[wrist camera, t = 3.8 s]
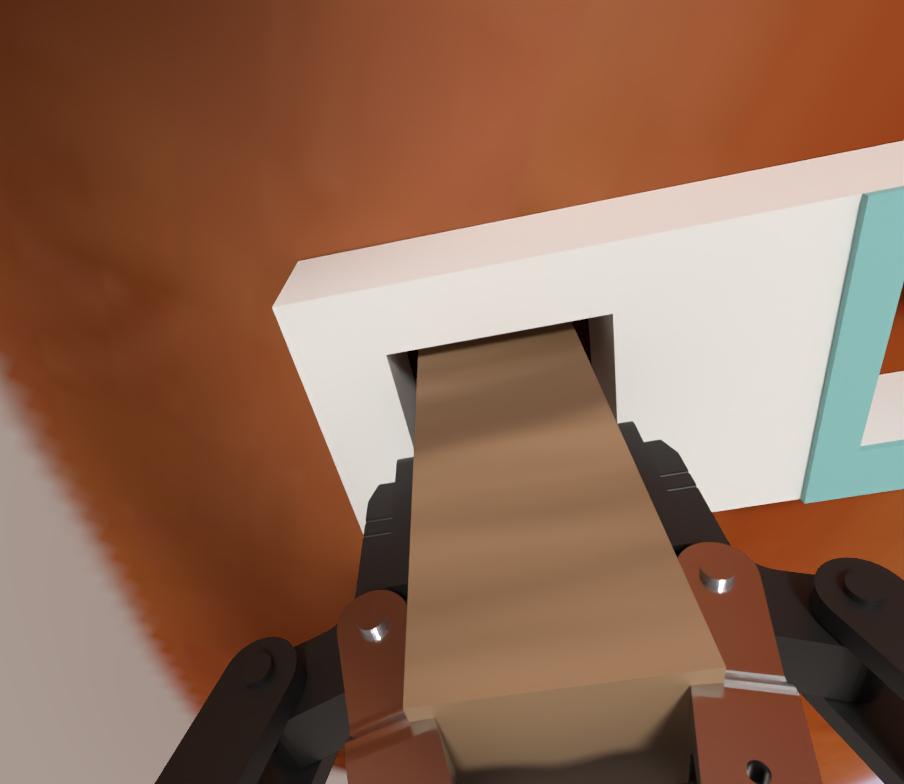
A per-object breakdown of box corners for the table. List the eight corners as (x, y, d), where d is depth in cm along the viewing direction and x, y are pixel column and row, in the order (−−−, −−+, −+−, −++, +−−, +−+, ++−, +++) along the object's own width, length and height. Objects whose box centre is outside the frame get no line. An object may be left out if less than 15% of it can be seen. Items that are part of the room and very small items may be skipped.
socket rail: (298, 260, 16) (269, 311, 13) (1169, 87, 14) (1347, 104, 11) (382, 496, 20) (374, 568, 18) (1032, 392, 19) (1133, 454, 16)
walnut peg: (419, 334, 15) (402, 708, 7) (565, 307, 15) (726, 667, 7) (446, 446, 18) (459, 830, 9) (575, 424, 17) (705, 804, 9)
